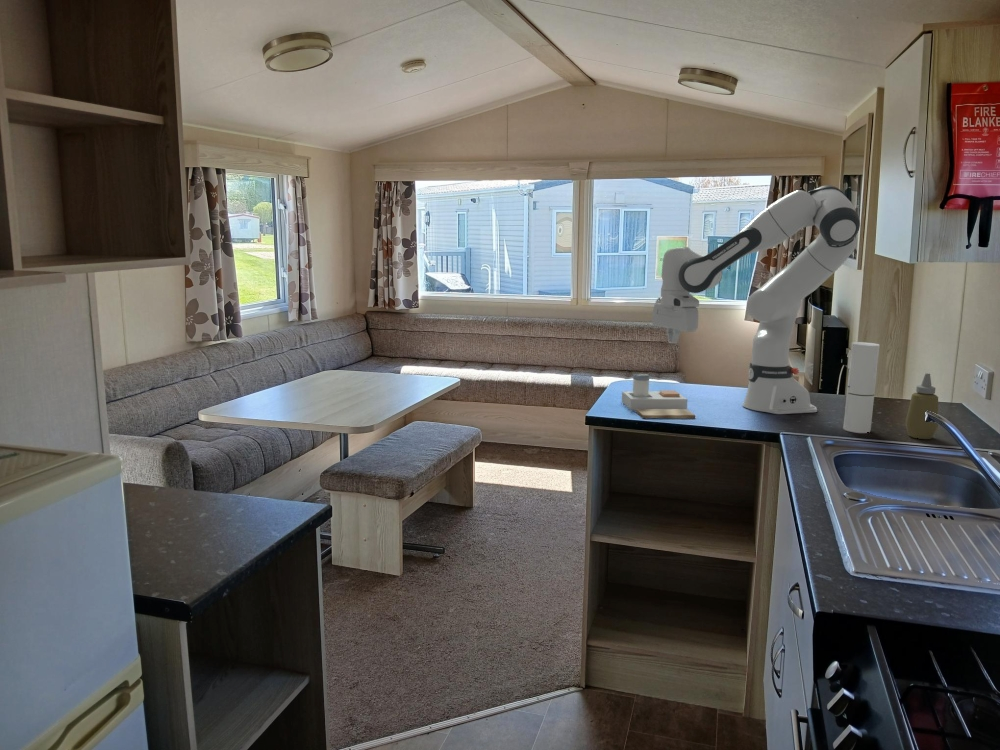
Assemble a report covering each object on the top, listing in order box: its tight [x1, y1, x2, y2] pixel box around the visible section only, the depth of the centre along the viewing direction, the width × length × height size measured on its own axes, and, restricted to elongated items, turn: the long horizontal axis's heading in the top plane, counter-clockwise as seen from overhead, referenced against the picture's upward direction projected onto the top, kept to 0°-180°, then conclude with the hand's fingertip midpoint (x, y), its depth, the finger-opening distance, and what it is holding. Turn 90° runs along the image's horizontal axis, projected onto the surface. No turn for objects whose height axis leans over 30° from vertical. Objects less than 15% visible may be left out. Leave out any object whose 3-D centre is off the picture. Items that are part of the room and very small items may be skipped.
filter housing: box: [621, 390, 688, 411], centre depth 248 cm, size 18×12×4 cm, turn 95°
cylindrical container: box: [842, 341, 881, 434], centre depth 220 cm, size 7×7×25 cm
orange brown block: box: [659, 390, 681, 397], centre depth 248 cm, size 5×5×4 cm
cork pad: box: [635, 408, 696, 419], centre depth 236 cm, size 16×8×1 cm, turn 95°
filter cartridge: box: [632, 373, 650, 397], centre depth 247 cm, size 5×5×10 cm
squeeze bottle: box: [905, 372, 939, 440], centre depth 214 cm, size 8×8×18 cm
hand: (672, 343), depth 245 cm, fingers closed
